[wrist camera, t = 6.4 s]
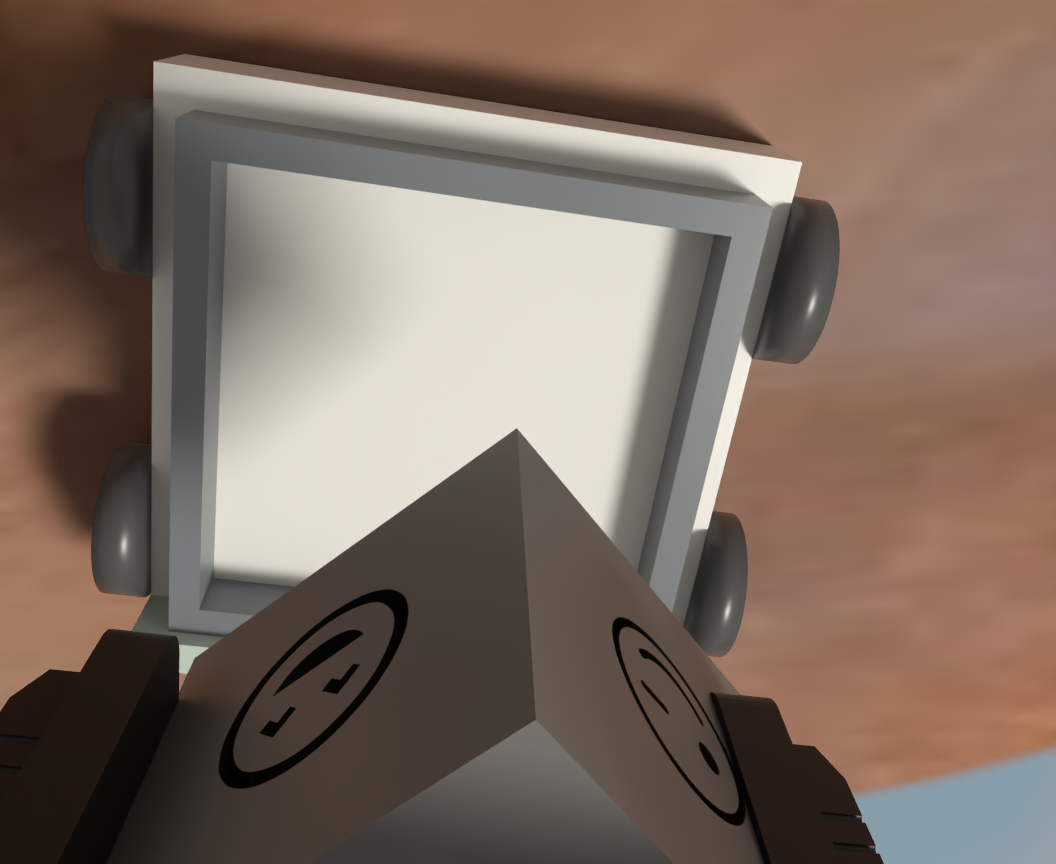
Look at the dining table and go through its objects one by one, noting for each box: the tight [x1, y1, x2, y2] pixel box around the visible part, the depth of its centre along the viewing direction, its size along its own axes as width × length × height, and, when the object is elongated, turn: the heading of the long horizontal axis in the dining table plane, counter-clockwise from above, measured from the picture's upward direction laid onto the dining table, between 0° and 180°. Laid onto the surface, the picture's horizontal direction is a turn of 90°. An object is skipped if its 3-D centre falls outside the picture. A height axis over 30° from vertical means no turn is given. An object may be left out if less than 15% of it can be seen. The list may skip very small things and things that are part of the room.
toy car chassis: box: [83, 54, 840, 674], centre depth 20 cm, size 12×13×4 cm
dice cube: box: [106, 428, 765, 864], centre depth 10 cm, size 5×5×5 cm
